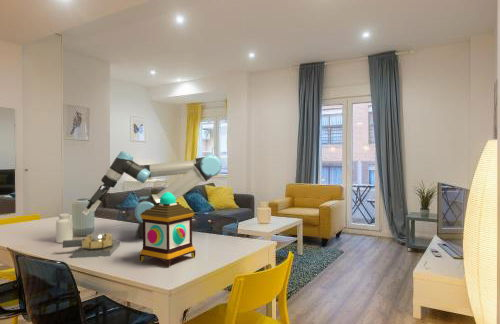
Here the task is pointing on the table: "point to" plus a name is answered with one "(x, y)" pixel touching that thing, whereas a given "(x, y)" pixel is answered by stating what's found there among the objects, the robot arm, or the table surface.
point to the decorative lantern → (167, 230)
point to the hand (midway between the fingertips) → (88, 212)
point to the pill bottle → (64, 228)
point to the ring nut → (89, 242)
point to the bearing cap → (96, 251)
